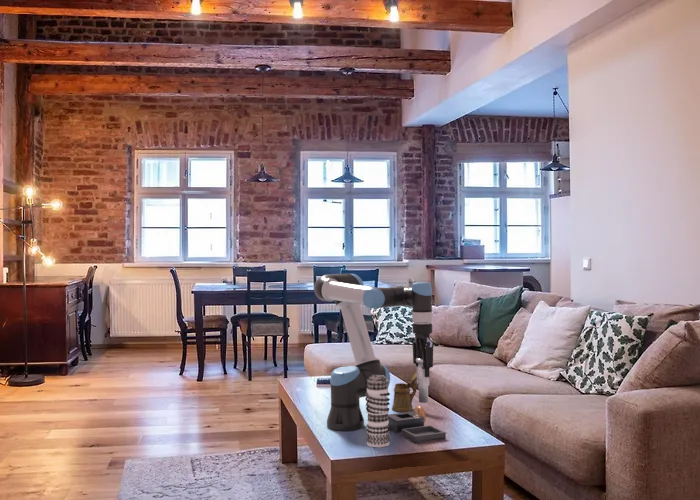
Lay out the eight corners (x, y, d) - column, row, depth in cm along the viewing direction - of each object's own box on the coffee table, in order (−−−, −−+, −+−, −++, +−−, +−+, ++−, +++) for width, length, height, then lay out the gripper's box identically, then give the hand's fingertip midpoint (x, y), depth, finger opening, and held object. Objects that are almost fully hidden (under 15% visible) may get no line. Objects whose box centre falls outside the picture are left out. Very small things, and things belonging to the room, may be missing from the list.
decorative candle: (389, 439, 245) (388, 373, 245) (391, 447, 236) (391, 378, 235) (365, 440, 245) (364, 373, 244) (366, 447, 235) (365, 378, 235)
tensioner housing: (396, 433, 253) (396, 413, 253) (385, 427, 262) (385, 407, 262) (430, 429, 258) (430, 409, 258) (418, 422, 267) (417, 403, 267)
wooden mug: (424, 411, 286) (423, 370, 286) (393, 412, 285) (393, 371, 285) (420, 406, 295) (419, 366, 295) (390, 407, 293) (390, 367, 293)
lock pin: (420, 403, 244) (420, 360, 244) (414, 400, 249) (413, 358, 249) (432, 402, 246) (432, 359, 246) (426, 399, 251) (425, 357, 251)
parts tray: (415, 443, 240) (415, 436, 240) (401, 435, 250) (401, 429, 250) (445, 439, 245) (445, 432, 245) (431, 431, 255) (431, 425, 255)
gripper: (442, 324, 241) (443, 387, 241) (420, 320, 256) (421, 379, 256) (424, 325, 238) (425, 389, 238) (403, 321, 253) (404, 381, 253)
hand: (423, 384), depth 247 cm, fingers closed on lock pin, 3 cm apart
